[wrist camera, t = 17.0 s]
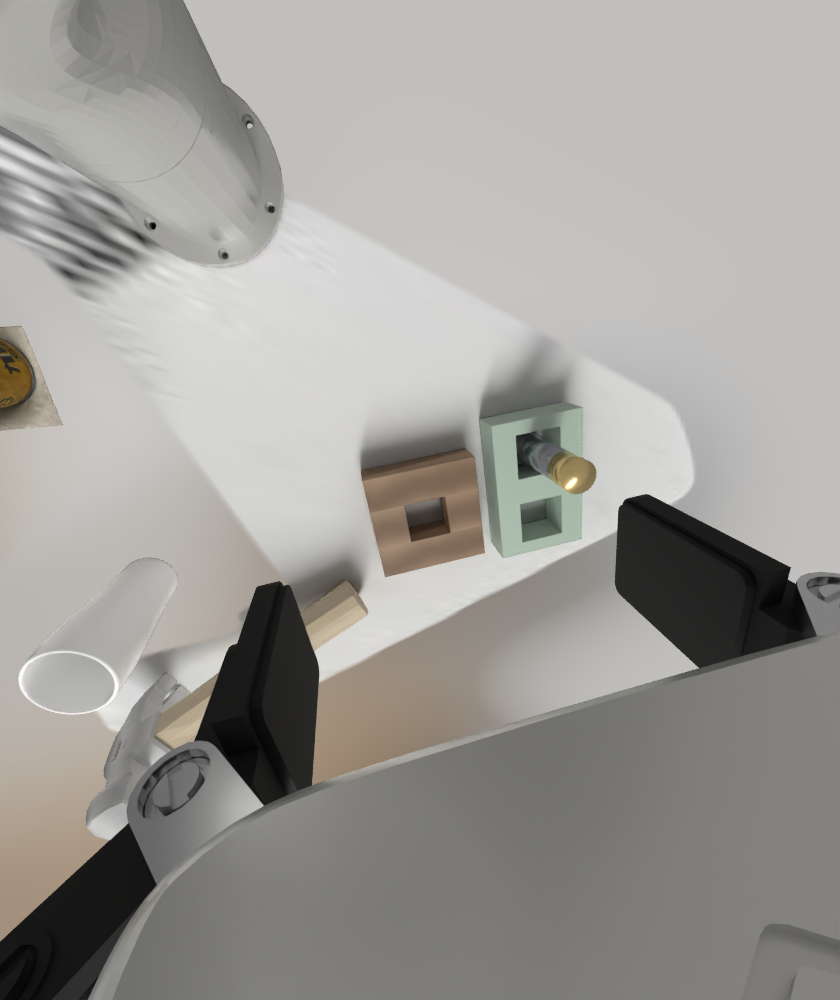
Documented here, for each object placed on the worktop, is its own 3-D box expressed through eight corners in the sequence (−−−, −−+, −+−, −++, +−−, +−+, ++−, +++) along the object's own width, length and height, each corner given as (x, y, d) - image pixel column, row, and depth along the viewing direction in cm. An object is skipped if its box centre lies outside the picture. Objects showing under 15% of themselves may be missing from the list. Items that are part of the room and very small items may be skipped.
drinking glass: (194, 596, 46) (131, 707, 32) (130, 605, 45) (37, 723, 31) (177, 545, 43) (101, 642, 30) (109, 554, 42) (-2, 657, 29)
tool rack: (479, 418, 44) (491, 426, 40) (562, 401, 45) (582, 407, 41) (491, 542, 50) (503, 558, 47) (564, 524, 51) (581, 539, 48)
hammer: (363, 615, 39) (71, 827, 34) (386, 645, 41) (113, 850, 36) (334, 555, 53) (124, 699, 48) (352, 579, 55) (152, 720, 50)
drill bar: (509, 433, 45) (562, 464, 34) (535, 428, 46) (596, 456, 35) (511, 459, 47) (563, 497, 36) (536, 454, 47) (595, 490, 36)
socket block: (360, 470, 44) (362, 481, 41) (464, 448, 45) (474, 456, 42) (382, 561, 49) (385, 577, 45) (475, 539, 50) (484, 552, 47)
